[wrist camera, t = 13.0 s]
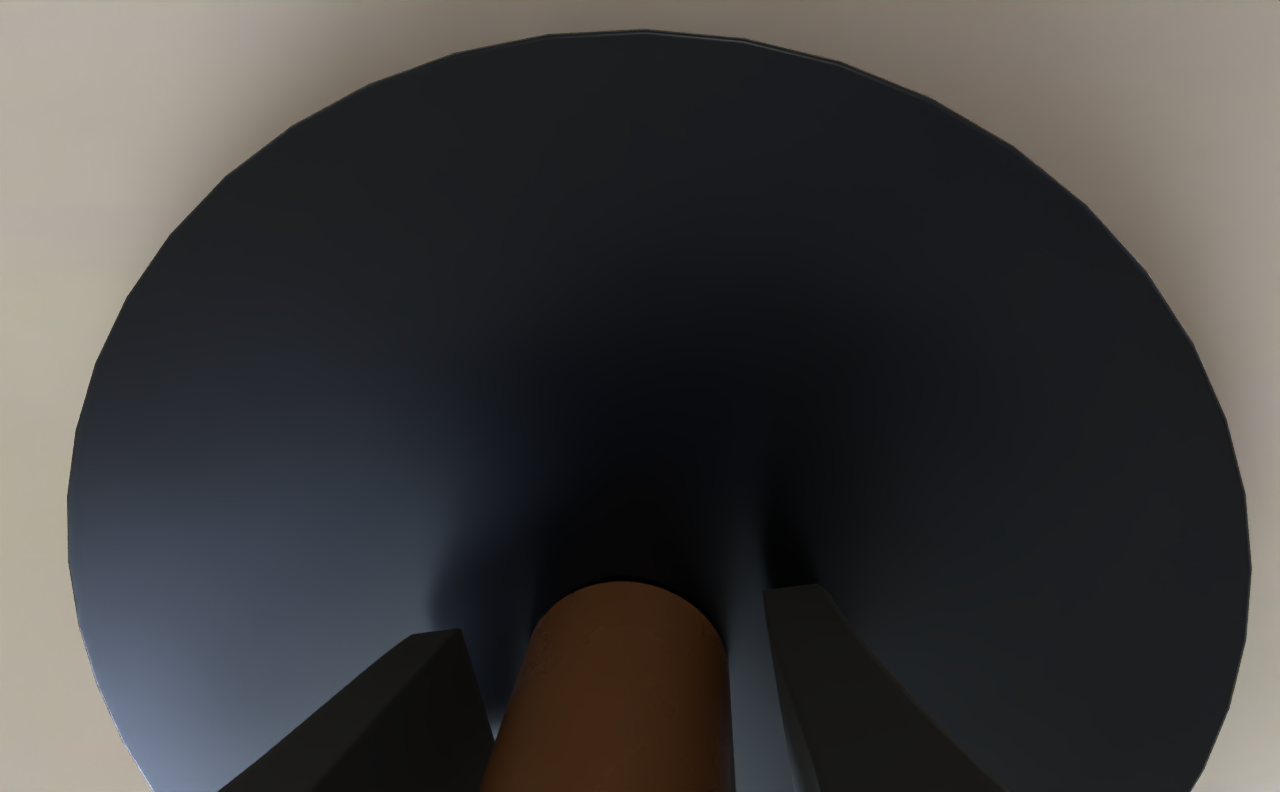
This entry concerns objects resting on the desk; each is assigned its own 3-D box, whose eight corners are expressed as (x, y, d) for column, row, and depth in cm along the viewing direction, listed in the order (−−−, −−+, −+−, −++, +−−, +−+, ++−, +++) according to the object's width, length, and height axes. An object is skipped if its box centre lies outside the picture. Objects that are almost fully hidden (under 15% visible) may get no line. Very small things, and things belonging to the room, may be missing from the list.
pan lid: (1404, 162, 8) (2354, 182, 3) (992, 1053, 12) (1162, 1578, 8) (93, -56, 8) (-656, -307, 4) (153, 894, 12) (-153, 1310, 8)
